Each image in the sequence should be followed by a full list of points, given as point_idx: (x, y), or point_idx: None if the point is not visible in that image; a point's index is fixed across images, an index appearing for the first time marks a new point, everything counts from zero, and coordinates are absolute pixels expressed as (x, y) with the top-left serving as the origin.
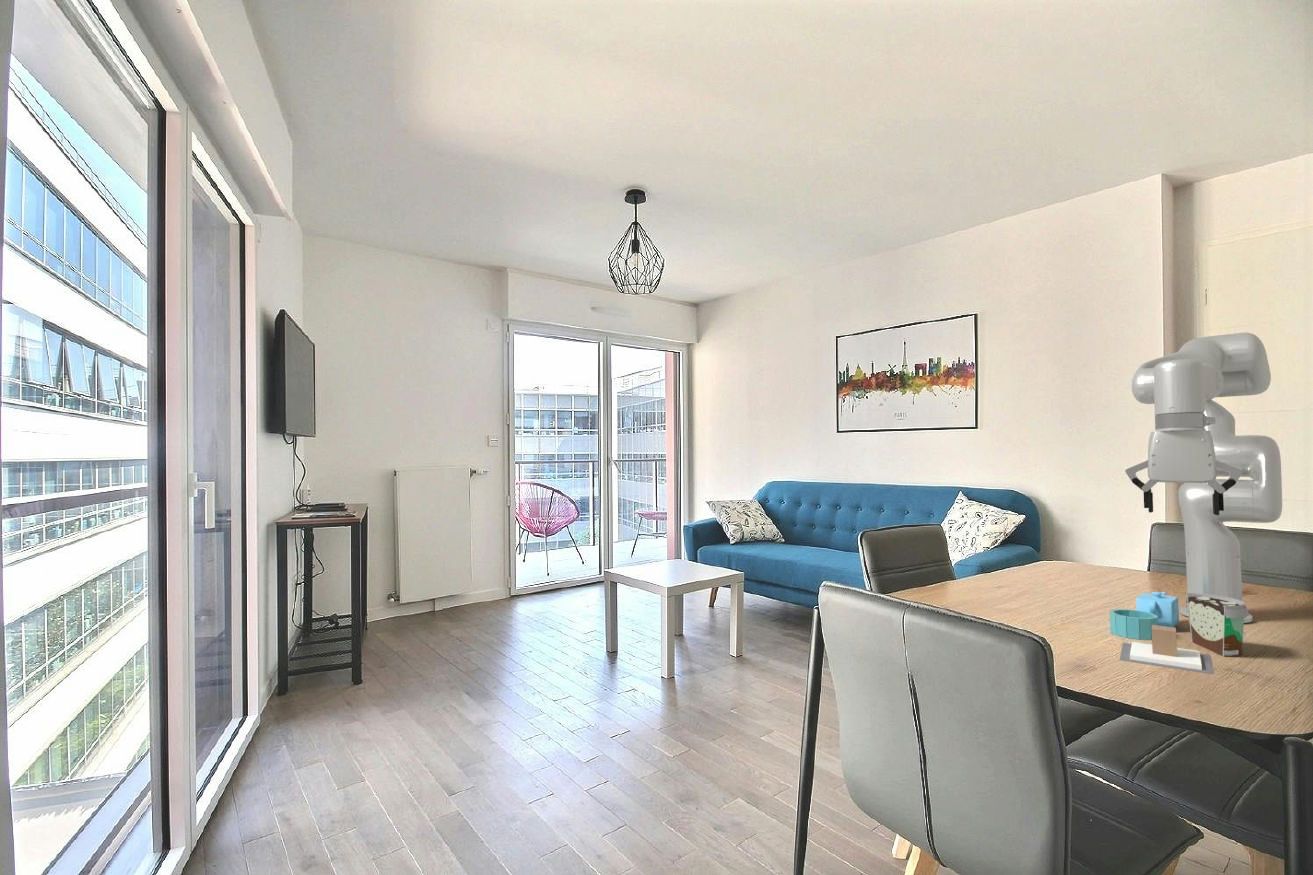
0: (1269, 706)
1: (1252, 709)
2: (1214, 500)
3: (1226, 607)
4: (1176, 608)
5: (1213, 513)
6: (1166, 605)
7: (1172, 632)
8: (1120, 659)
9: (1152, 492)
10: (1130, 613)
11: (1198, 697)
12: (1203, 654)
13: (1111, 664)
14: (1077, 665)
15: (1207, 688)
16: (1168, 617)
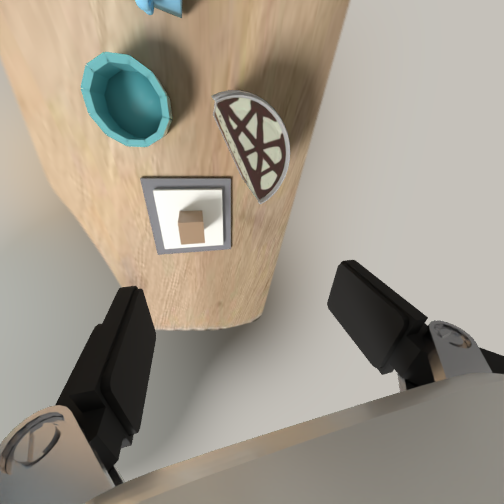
0: (255, 287)
1: (246, 298)
2: (359, 344)
3: (262, 201)
4: None
5: (334, 281)
6: None
7: (201, 242)
8: (158, 252)
9: (112, 393)
10: (114, 64)
11: (219, 297)
12: (225, 182)
13: (153, 262)
14: (130, 282)
15: (225, 276)
16: (174, 6)
